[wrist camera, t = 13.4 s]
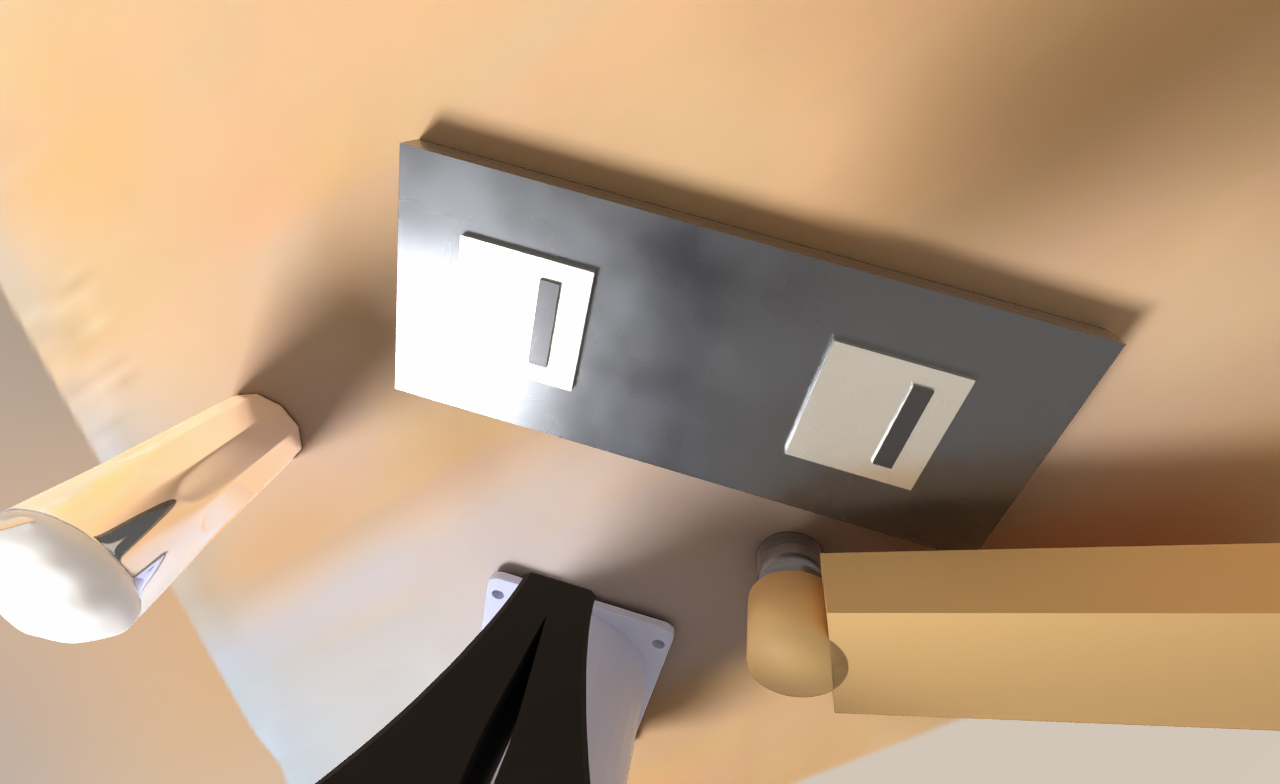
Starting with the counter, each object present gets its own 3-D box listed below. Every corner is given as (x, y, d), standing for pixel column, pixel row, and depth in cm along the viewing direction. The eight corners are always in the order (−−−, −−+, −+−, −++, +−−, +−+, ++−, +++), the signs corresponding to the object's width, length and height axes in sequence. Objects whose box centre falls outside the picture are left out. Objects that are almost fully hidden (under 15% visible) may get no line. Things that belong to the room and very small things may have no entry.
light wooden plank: (754, 647, 22) (754, 709, 19) (740, 555, 20) (738, 613, 18) (1325, 655, 18) (1401, 735, 15) (1378, 540, 16) (1473, 613, 13)
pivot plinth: (810, 588, 23) (813, 627, 21) (748, 570, 23) (747, 606, 21) (834, 543, 21) (840, 580, 20) (769, 524, 22) (770, 559, 20)
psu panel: (963, 538, 20) (974, 565, 19) (410, 375, 21) (390, 392, 20) (1106, 329, 16) (1131, 349, 15) (418, 139, 17) (393, 144, 16)
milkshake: (308, 372, 22) (13, 570, 13) (324, 485, 25) (87, 712, 16) (195, 346, 22) (-163, 523, 14) (223, 461, 25) (-61, 669, 16)
